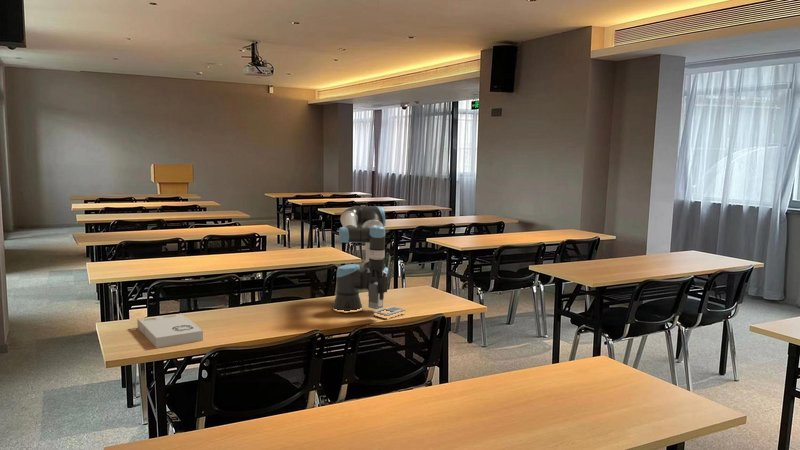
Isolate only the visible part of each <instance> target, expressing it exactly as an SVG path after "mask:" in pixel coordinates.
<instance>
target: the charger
mask: <svg viewBox="0 0 800 450" xmlns="http://www.w3.org/2000/svg"><path fill="white" fill-rule="evenodd" d="M381 291H382V290H381ZM378 293H379V288H378V282H374V283H369V296H368V304H367V305H368V308H369V309H373V310H380V309H383V308H384V303H383V304H382V306H379V307H378Z"/></svg>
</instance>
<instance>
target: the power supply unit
mask: <svg viewBox="0 0 800 450" xmlns="http://www.w3.org/2000/svg"><path fill="white" fill-rule="evenodd" d="M137 329H138V330H139V331H140V333H142V334H143V335H144V336H145V338H147V340H148V341H150V343H151V344H152V345H153V346H154V347H155V349H159V348H160V349H161V348H165V347H167V348H168V347H173V346H178V345H184V344H189V343H190V344H191V343H196V342H201V341H203V342H204V330H203V329H201V328H200V326H198V325H197V324H195V323H194V322H193V321H191V320H190V319H189V318H188V317H186V316H185V315H184V314H183V313H181V312H180V313H179V314H172V315H164V316H157V317H156V316H155V317H149V318H142V319H141V318H140V319H139V318H137Z"/></svg>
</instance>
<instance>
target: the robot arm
mask: <svg viewBox="0 0 800 450" xmlns="http://www.w3.org/2000/svg"><path fill="white" fill-rule="evenodd" d="M339 219H340V223H341V225H342V227H341V226H340V227H339V230H338V231H339V232H338V241H339V242H340V243H344V244H345V243H353V244H354V243H360V244H363V243H365V263H364V264H363V267H361V266H360V264H357V263H350V264H349V263H348V264H344V265H340V266H339V267H337V269H336V291H335V293H336V294H335V298H334V302H333V304H332V309H333V308H334V309H337V310H344V311H350V310H357V309H360V308H362V309H363V304H362V302H361V296H360V291H368V292H367V293H368V295H367V297H369V283H374V282H378V288H379V293H378V307H379V306H382V304H383V305H384V298H385V297H384V296H385V293H387V292H388V278H389V277H388V276H389V267H387V266H386V264H385V261H386V260H385V257H386V256H385V255H386V254H385V251H386V247H385V246H386V228H385V226H386V213H385V209H384V208H383V206H377V205H375V206H371V205H370V206H365V205H363V206H362V205H353V206H351V207H347V208H346V209H344V211H342V213H341V215H340V217H339ZM381 290H382V291H381Z"/></svg>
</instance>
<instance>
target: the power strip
mask: <svg viewBox="0 0 800 450" xmlns="http://www.w3.org/2000/svg"><path fill="white" fill-rule="evenodd" d="M384 310H386V311H390V312H391V313H387V314H385V313H381V311H384ZM403 311H405V312H406V309H405V308H402V307H397V306H393V305H391V306H388V307H382V308H379V309H375V310H373V314H374V313H377V314H380V315H384V316H390V315H393V314H396V313H399V312H403Z"/></svg>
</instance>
